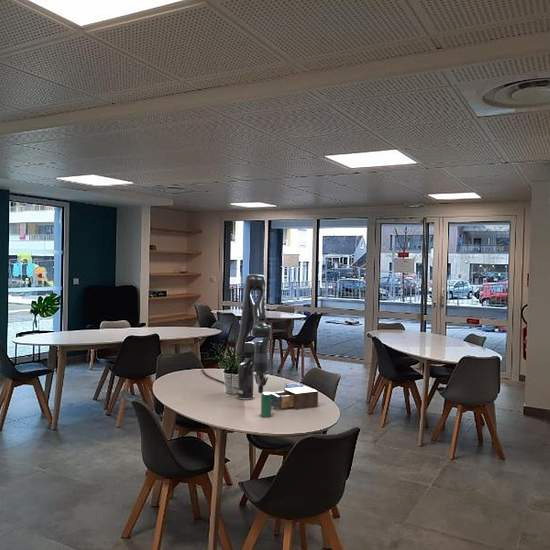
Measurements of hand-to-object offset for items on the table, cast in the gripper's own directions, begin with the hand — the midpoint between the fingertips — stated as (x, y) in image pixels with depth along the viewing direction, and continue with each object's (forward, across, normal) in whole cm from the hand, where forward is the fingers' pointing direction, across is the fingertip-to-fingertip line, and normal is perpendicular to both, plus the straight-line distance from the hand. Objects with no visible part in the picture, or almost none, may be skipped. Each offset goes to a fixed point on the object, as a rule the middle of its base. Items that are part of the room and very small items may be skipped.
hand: (260, 392), depth 292 cm
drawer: (+9, 0, -13) cm, 15 cm away
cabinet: (+10, 0, -26) cm, 27 cm away
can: (+10, -12, +2) cm, 15 cm away
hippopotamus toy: (+10, +18, -32) cm, 38 cm away
